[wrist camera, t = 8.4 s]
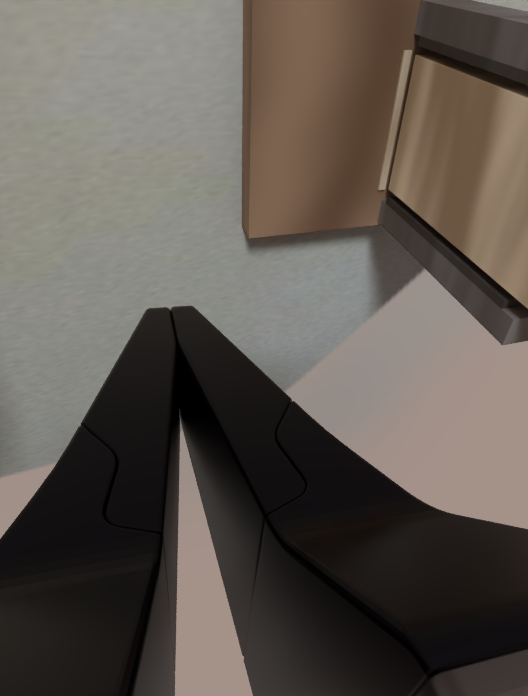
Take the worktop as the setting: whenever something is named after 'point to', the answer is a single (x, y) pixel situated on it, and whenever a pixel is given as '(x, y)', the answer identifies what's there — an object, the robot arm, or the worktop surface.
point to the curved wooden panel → (468, 164)
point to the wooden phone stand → (362, 123)
